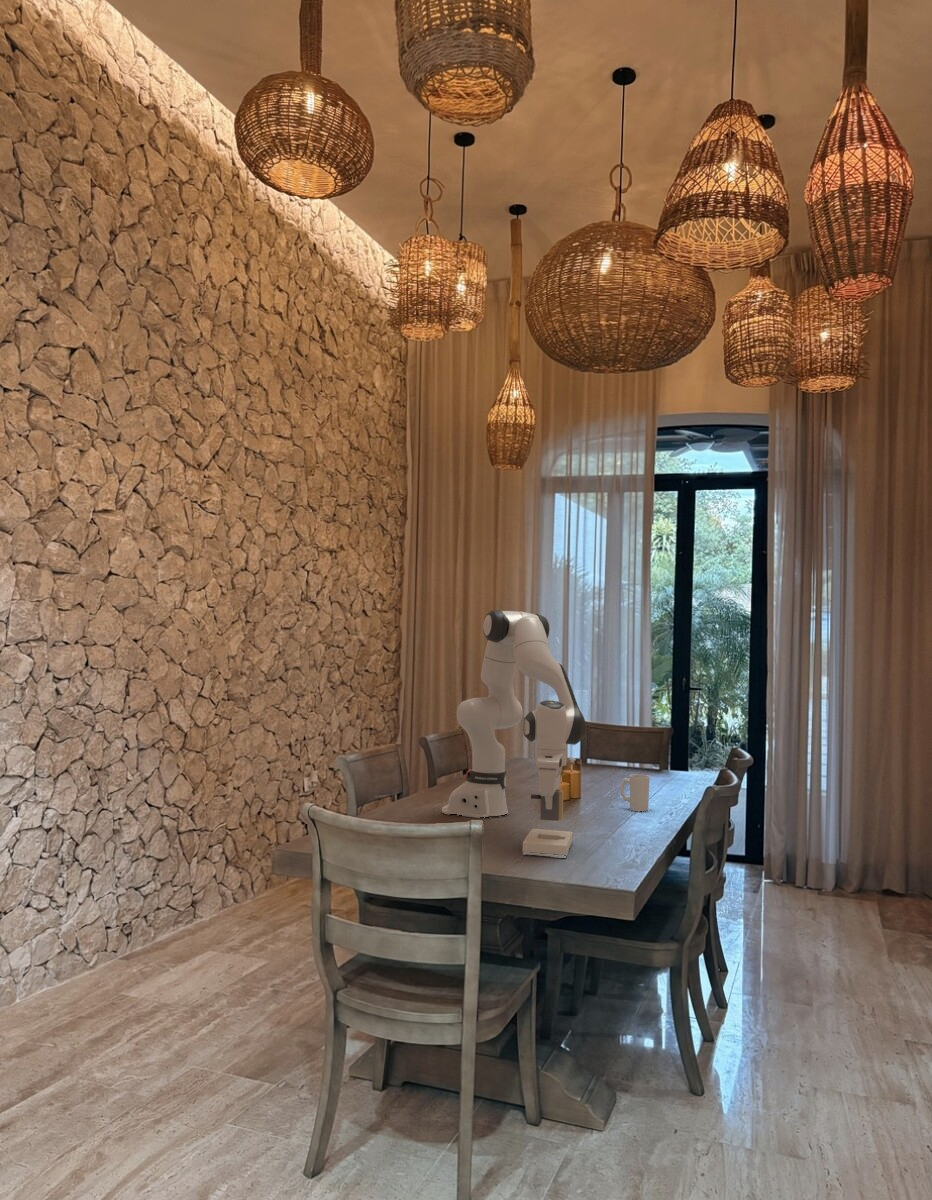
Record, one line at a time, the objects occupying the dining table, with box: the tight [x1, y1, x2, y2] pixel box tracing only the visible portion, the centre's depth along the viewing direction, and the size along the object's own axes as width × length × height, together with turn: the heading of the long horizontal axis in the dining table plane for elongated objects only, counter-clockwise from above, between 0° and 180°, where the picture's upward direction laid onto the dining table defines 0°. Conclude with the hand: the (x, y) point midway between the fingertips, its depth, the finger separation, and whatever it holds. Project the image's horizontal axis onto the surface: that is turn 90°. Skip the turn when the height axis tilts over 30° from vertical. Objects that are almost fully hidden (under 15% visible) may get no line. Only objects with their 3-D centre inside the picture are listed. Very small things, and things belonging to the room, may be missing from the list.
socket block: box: [522, 828, 574, 856], centre depth 257 cm, size 12×18×4 cm, turn 168°
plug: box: [530, 789, 564, 822], centre depth 258 cm, size 9×4×8 cm, turn 78°
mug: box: [620, 773, 650, 813], centre depth 318 cm, size 10×7×12 cm, turn 69°
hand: (550, 807), depth 258 cm, fingers closed on plug, 4 cm apart
